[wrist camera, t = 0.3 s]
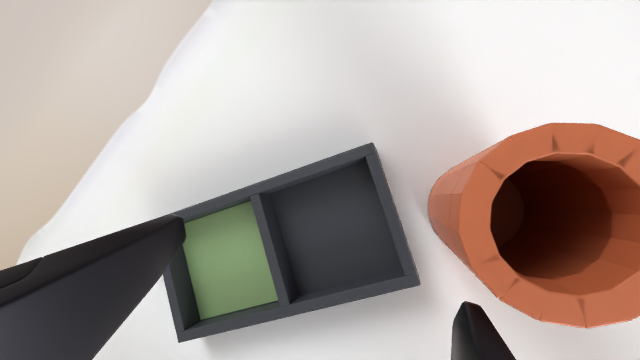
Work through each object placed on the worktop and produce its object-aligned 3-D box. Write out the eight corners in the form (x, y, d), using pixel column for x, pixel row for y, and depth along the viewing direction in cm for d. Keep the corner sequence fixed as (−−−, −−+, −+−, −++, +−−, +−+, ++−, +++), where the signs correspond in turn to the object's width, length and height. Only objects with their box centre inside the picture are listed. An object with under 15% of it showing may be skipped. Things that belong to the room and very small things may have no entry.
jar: (542, 240, 21) (740, 301, 9) (445, 264, 22) (498, 345, 10) (506, 150, 21) (642, 92, 9) (415, 179, 23) (432, 160, 11)
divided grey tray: (418, 275, 22) (420, 285, 20) (198, 329, 27) (178, 343, 24) (375, 147, 24) (372, 141, 21) (171, 218, 28) (150, 220, 26)
